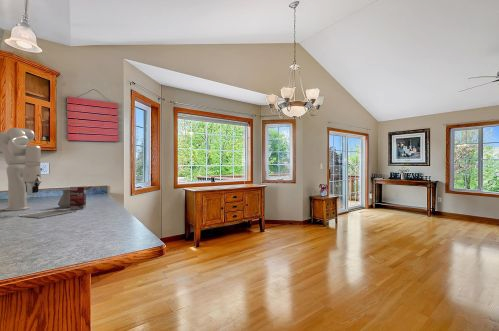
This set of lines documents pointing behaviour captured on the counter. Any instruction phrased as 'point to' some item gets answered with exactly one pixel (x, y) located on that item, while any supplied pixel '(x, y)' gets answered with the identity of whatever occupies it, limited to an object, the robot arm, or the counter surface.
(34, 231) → the counter surface
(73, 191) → the supplement box
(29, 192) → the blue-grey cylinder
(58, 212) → the throwing mat
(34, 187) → the robot arm
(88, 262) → the counter surface
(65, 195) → the coffee pot
